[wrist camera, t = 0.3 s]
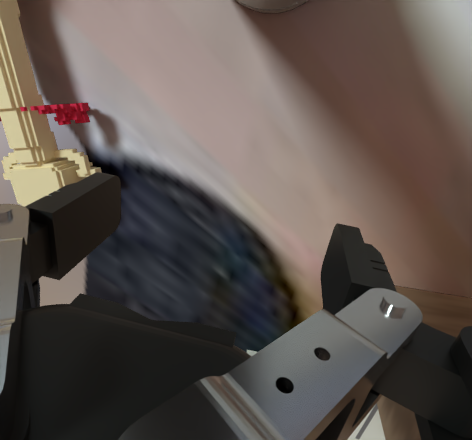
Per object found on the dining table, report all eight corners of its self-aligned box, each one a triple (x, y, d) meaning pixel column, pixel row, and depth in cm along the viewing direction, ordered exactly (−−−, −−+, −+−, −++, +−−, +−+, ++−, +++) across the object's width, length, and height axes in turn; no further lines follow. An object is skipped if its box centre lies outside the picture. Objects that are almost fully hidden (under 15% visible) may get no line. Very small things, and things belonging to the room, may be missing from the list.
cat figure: (-56, -84, 26) (34, 217, 34) (-215, -165, 18) (-46, 254, 26) (57, -109, 24) (122, 215, 33) (-63, -210, 16) (66, 255, 25)
